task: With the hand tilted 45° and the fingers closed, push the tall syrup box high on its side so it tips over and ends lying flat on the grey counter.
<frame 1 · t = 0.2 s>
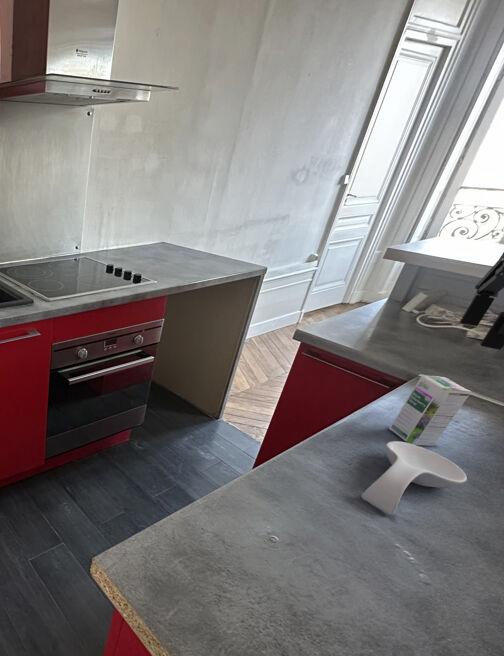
hand: (478, 335, 86), 23 cm above the countertop, tool pointing down, fingers open, 13 cm apart
spoon rest: (402, 486, 78), on the countertop
syrup box: (410, 438, 92), on the countertop
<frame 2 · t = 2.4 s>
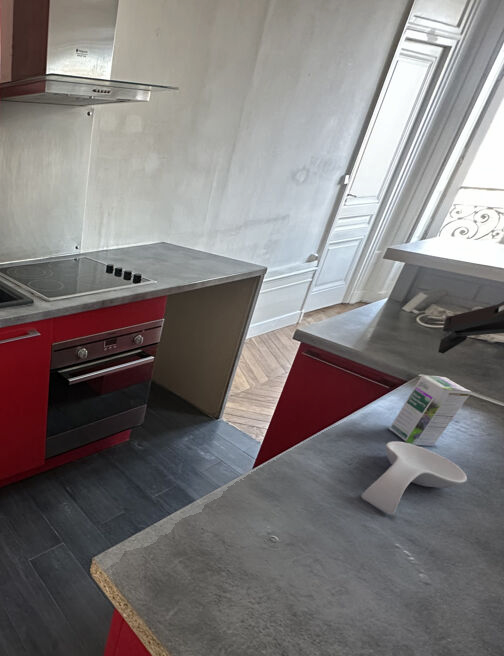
hand: (491, 358, 74), 24 cm above the countertop, tool tilted 45°, fingers open, 13 cm apart
nothing on the countertop moved.
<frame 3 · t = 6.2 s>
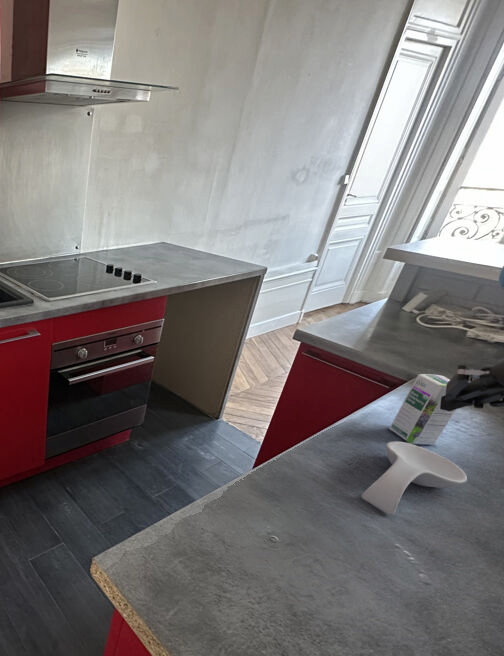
hand: (445, 403, 83), 12 cm above the countertop, tool tilted 45°, fingers closed
syrup box: (410, 437, 92), on the countertop, touching gripper
everything else where it was.
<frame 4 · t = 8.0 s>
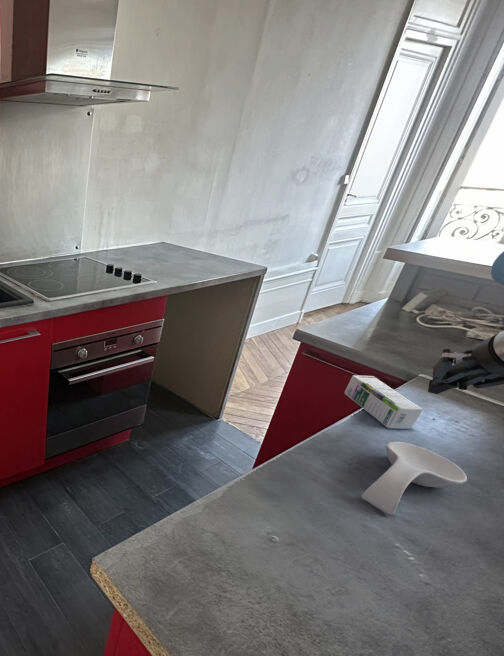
hand: (433, 387, 89), 12 cm above the countertop, tool tilted 45°, fingers closed
syrup box: (406, 419, 93), point 3 cm above the countertop
everything else where it was.
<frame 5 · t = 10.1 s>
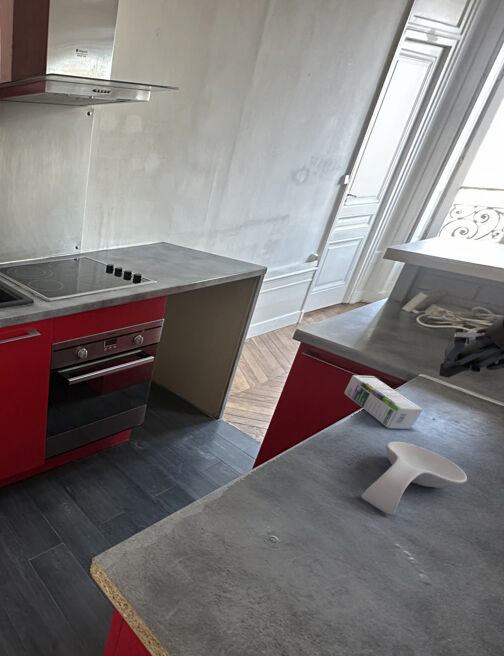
hand: (444, 370, 87), 16 cm above the countertop, tool tilted 45°, fingers closed
nothing on the countertop moved.
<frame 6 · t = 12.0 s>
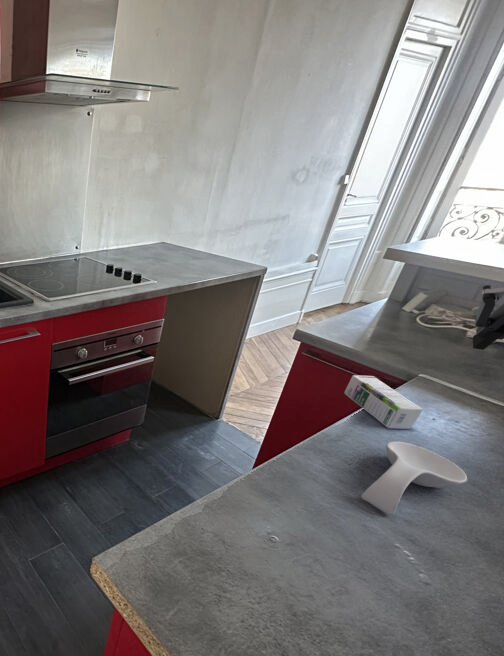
hand: (478, 343, 82), 23 cm above the countertop, tool tilted 40°, fingers closed
nothing on the countertop moved.
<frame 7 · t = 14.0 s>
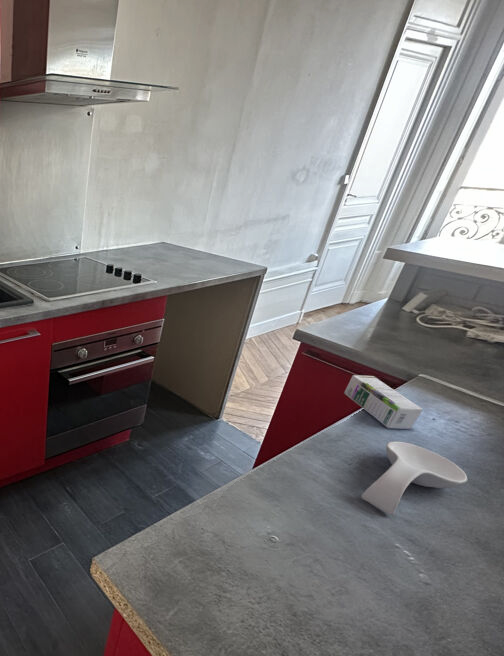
nothing on the countertop moved.
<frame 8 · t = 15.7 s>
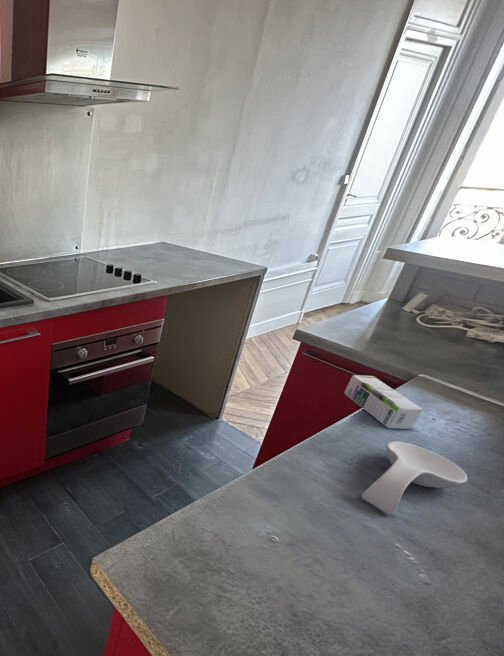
nothing on the countertop moved.
at the end: syrup box tilted 90°; syrup box inside the target area (3.3 cm from its centre), point 2.8 cm above the countertop; the gripper is holding nothing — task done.
